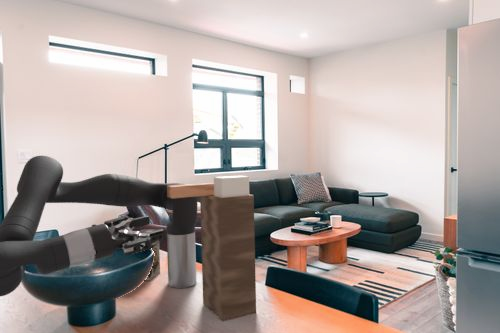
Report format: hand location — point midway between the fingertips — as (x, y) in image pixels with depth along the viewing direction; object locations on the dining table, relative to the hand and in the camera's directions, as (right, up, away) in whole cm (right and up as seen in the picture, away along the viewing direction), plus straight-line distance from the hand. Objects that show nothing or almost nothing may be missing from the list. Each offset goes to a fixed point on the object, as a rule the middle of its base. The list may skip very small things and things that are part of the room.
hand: (156, 226), depth 97 cm
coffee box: (-14, -24, +44) cm, 52 cm away
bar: (+10, +7, +13) cm, 18 cm away
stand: (+17, -25, +15) cm, 34 cm away
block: (+18, +7, +10) cm, 21 cm away
